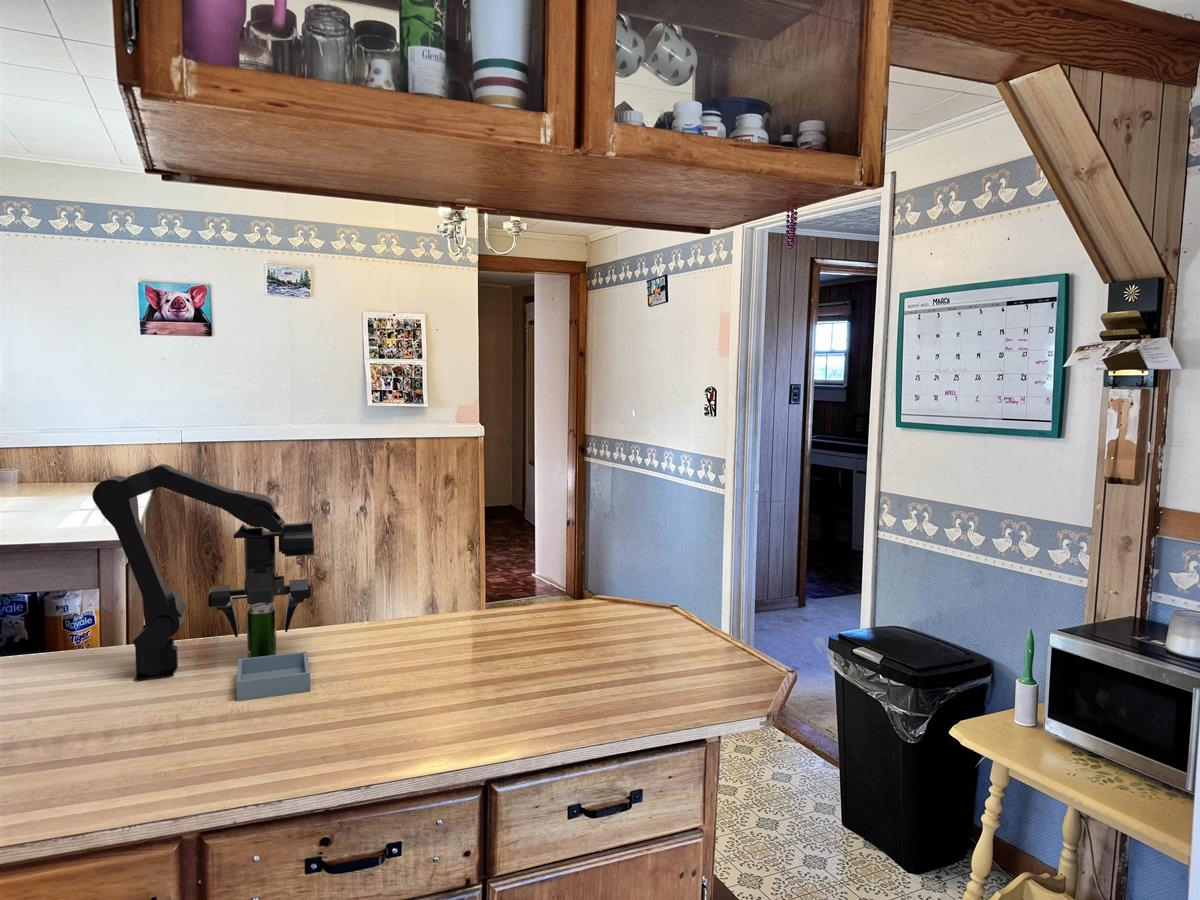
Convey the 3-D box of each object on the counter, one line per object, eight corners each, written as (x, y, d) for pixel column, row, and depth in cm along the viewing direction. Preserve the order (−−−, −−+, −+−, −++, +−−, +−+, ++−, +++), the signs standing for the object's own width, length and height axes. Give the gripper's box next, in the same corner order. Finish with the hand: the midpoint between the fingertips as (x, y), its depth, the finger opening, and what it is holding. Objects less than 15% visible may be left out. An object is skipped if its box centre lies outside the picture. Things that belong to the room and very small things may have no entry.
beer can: (253, 669, 153) (252, 610, 152) (243, 662, 157) (242, 604, 156) (280, 663, 157) (279, 605, 156) (270, 656, 161) (269, 599, 160)
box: (236, 701, 138) (236, 682, 138) (238, 676, 150) (238, 659, 149) (310, 691, 143) (310, 673, 143) (307, 668, 155) (306, 651, 154)
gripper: (205, 571, 144) (207, 652, 145) (311, 563, 151) (313, 641, 153) (209, 558, 154) (211, 634, 156) (308, 551, 162) (309, 624, 163)
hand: (261, 633), depth 157 cm, fingers open, 9 cm apart
